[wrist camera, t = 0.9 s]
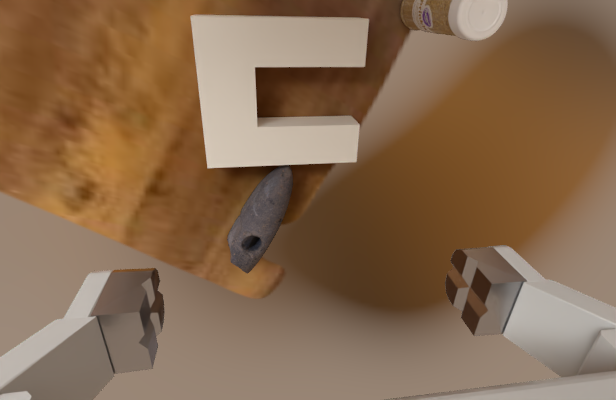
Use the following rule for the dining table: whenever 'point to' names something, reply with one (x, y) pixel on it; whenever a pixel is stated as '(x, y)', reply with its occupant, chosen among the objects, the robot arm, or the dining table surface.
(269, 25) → the slotted plate
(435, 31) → the sprinkles bottle
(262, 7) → the dining table surface
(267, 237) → the perforated stone tool
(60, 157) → the dining table surface
